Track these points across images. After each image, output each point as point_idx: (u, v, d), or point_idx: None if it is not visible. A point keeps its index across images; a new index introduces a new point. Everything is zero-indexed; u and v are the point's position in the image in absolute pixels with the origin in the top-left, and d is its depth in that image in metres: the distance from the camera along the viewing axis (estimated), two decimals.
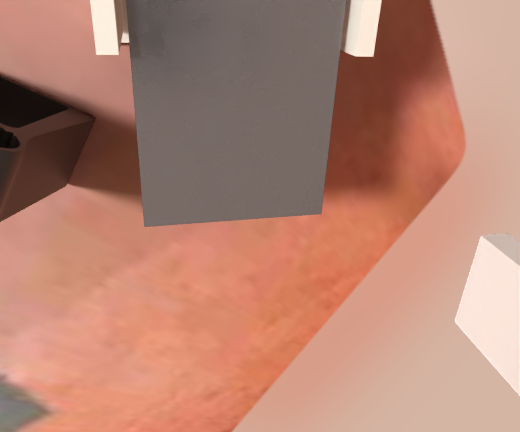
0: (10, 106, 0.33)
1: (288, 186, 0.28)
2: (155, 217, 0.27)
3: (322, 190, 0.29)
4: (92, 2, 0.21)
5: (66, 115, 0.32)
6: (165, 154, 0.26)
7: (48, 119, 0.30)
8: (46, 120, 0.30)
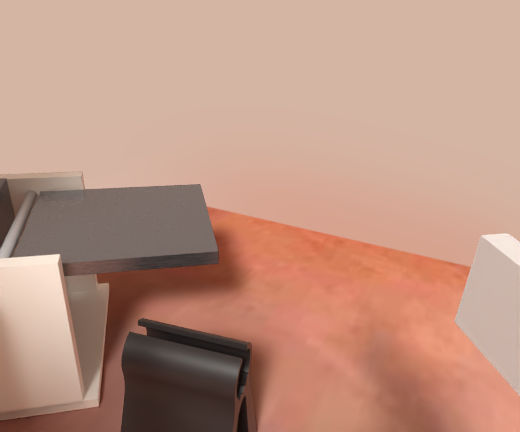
0: None
1: (178, 197, 0.38)
2: (208, 246, 0.32)
3: (181, 185, 0.40)
4: (17, 265, 0.27)
5: None
6: (151, 245, 0.32)
7: None
8: None
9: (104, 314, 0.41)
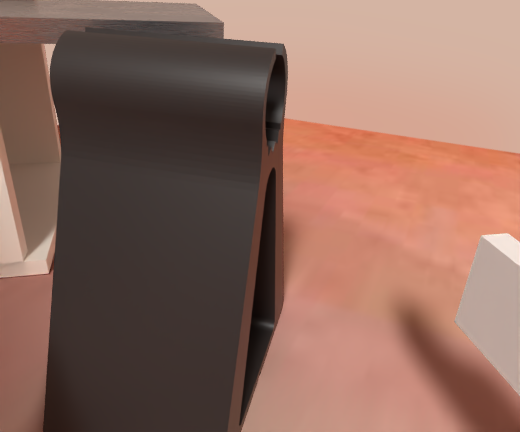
0: None
1: (165, 5, 0.28)
2: (208, 20, 0.21)
3: (170, 3, 0.30)
4: None
5: None
6: (121, 16, 0.21)
7: None
8: None
9: None
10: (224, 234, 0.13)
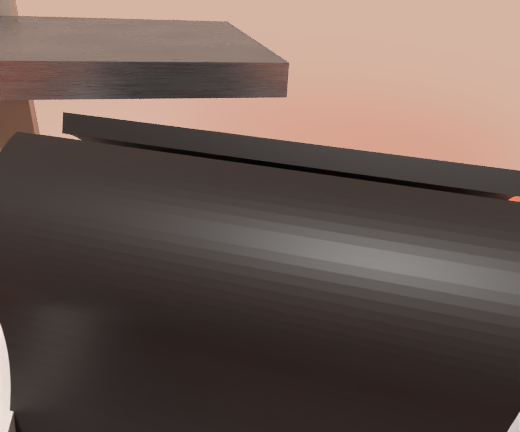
0: None
1: (189, 26, 0.21)
2: (264, 58, 0.14)
3: (193, 21, 0.23)
4: None
5: None
6: (132, 52, 0.14)
7: None
8: None
9: None
10: None
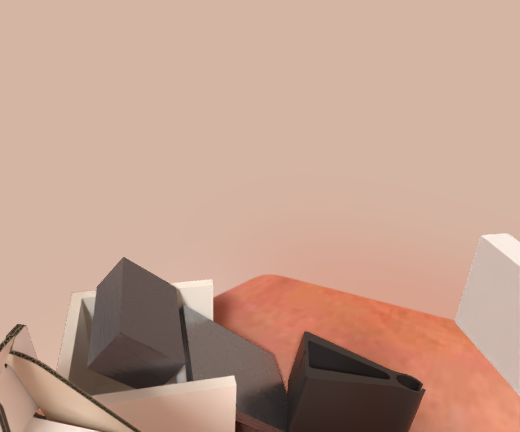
0: None
1: (265, 363, 0.50)
2: None
3: None
4: (207, 388, 0.35)
5: (328, 345, 0.48)
6: (265, 411, 0.43)
7: (350, 356, 0.47)
8: (353, 357, 0.47)
9: None
10: (363, 431, 0.44)
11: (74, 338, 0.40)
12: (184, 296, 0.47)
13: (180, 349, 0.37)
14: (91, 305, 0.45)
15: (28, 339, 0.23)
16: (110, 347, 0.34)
